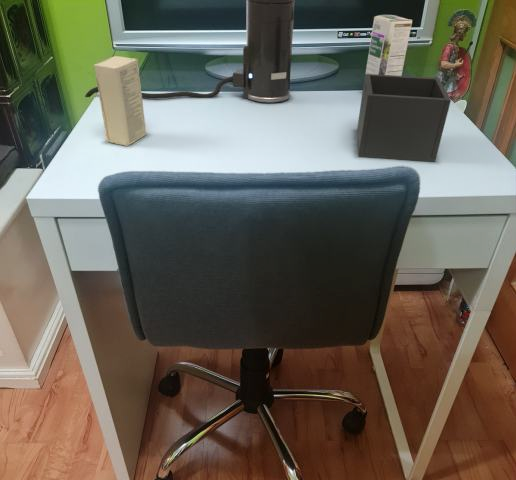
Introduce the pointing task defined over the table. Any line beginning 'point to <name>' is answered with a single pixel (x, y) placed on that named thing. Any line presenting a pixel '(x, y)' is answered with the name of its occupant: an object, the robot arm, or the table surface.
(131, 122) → the cosmetic box
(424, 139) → the waste bin
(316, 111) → the table surface
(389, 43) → the syrup box
